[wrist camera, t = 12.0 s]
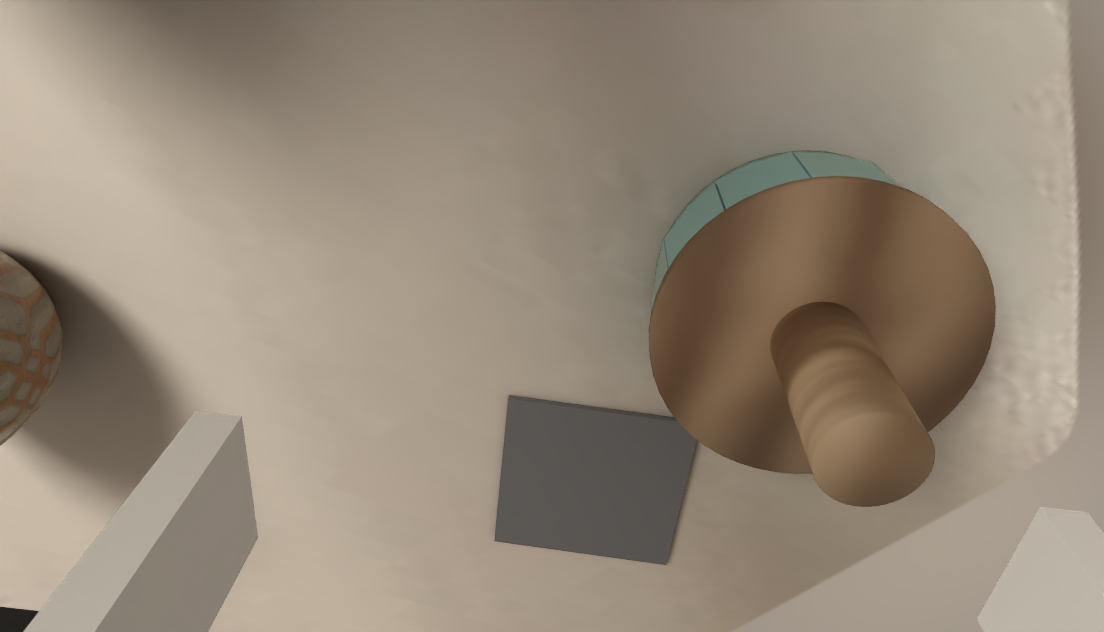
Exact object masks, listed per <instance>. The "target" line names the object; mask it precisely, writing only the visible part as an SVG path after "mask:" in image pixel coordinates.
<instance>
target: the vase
mask: <svg viewBox="0 0 1104 632" xmlns="http://www.w3.org/2000/svg"><path fill="white" fill-rule="evenodd" d="M61 351H62V332H61V326H60V322H59V318H58V315H57V312H56V310H55V307H54V305H53V303H52V301H51V299H50V297H49V295H48V294H47V292H46V291H45V289H44V288H43V286H42V285H41V284H40V282H39V281H38V280H37V279H36V278H35V277H34V276H33V275H32V274H31V273H30V272H29V271H28V270H27V269H26V268H25V267H23V266H22V265H21V264H20V263H18V262H17V261H16V260H14V259H13V258H11V257H10V256H8V255H6V254H5V253H3V252H1V251H0V446H1V445H2V444H3V443H4V442H6V441H7V440H8V439H10V438H11V437H12V436H13V435H14V434H15V433H16V432H17V431H18V430H19V429H20V428H21V427H23V426H24V425H25V424H26V423H27V422H28V421H29V419H30V418H31V417H32V416H33V415H34V414H35V412H36V411H37V410H38V409H39V407H40V406H41V405H42V403H43V401H44V400H45V398H46V396H47V394H48V393H49V391H50V389H51V387H52V385H53V382H54V380H55V377H56V374H57V372H58V369H59V365H60V360H61Z"/></svg>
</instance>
